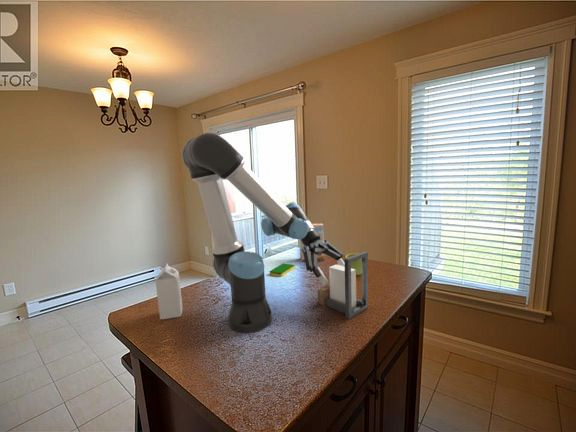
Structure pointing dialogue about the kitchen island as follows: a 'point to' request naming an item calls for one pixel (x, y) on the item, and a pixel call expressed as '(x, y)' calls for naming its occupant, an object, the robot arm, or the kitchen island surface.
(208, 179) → the robot arm
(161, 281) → the milk carton
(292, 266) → the dish sponge
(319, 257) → the cracker box
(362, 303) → the frame
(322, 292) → the offcut stack
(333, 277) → the white block
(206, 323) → the kitchen island surface
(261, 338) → the kitchen island surface
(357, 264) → the plant pot
